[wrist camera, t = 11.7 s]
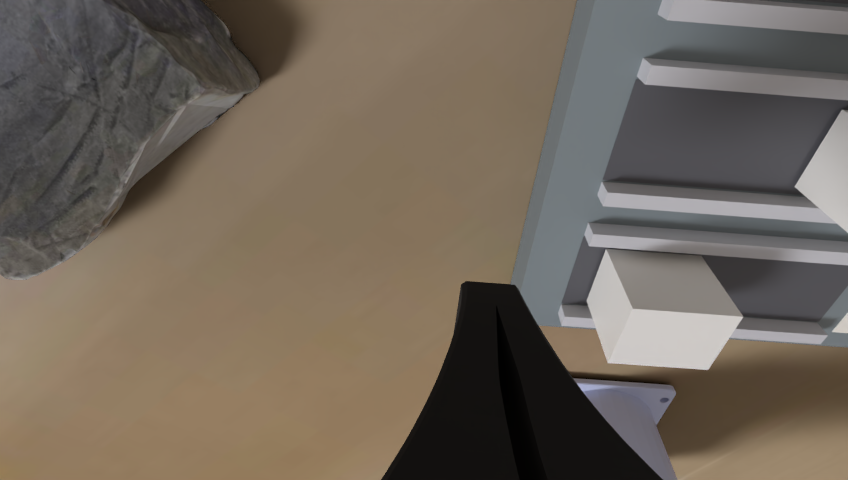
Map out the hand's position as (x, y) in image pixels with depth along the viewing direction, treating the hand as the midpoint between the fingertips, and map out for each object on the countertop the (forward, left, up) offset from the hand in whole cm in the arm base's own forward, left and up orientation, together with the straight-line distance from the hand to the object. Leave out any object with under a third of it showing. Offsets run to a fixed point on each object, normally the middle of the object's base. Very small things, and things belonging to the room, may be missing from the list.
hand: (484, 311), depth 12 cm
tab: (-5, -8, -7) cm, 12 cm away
